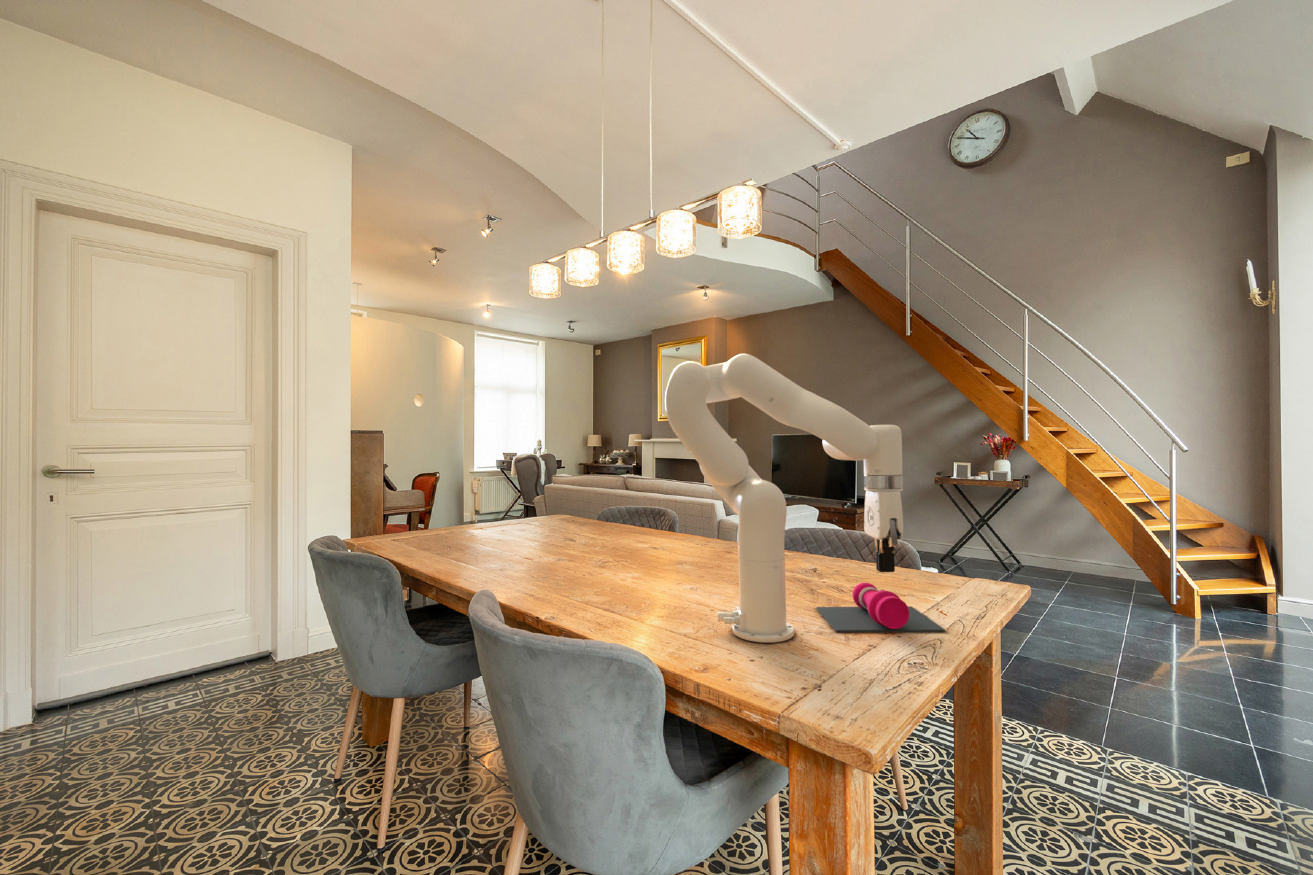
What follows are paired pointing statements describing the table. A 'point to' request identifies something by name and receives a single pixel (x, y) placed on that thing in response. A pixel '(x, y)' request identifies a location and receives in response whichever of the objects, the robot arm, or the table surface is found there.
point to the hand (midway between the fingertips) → (885, 570)
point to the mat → (862, 622)
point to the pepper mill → (881, 605)
